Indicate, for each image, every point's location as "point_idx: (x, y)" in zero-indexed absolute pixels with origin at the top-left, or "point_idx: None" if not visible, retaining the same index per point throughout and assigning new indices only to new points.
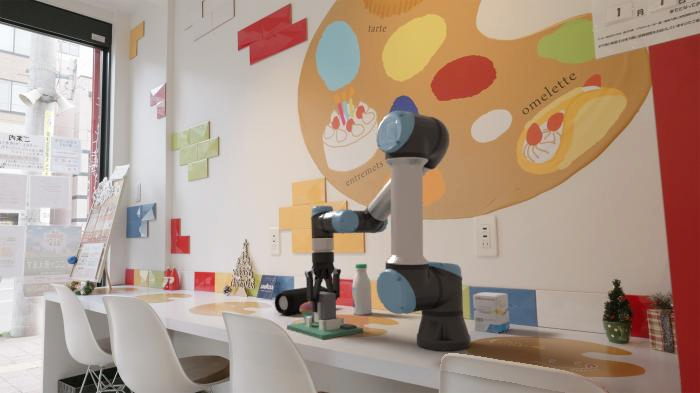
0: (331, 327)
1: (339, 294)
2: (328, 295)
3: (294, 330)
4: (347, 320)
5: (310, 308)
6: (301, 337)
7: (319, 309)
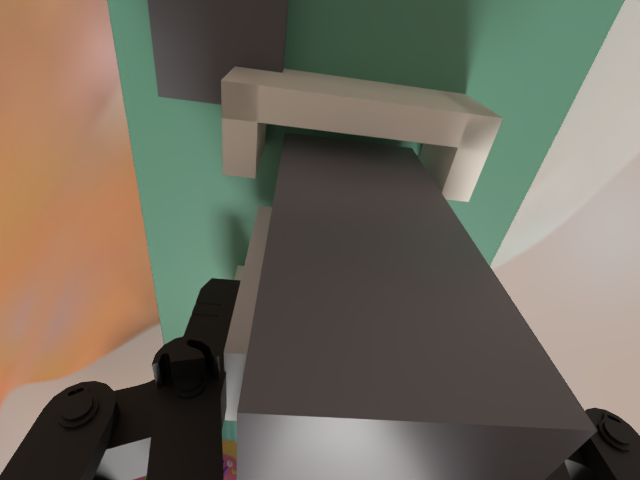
0: (385, 86)
1: (33, 440)
2: (468, 393)
3: None
4: (12, 317)
5: (228, 471)
6: (602, 150)
7: None
